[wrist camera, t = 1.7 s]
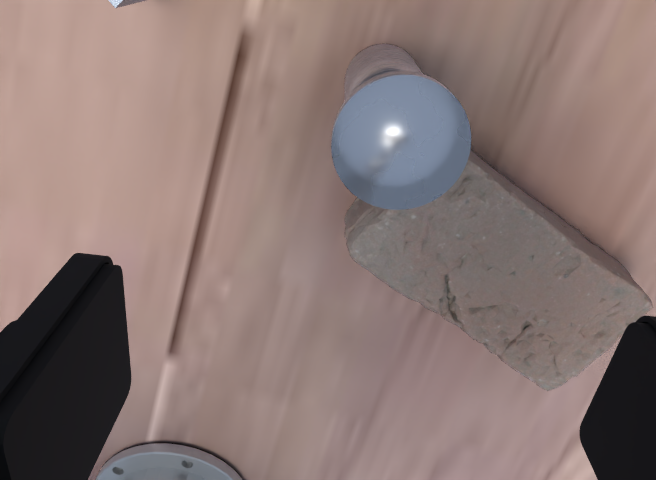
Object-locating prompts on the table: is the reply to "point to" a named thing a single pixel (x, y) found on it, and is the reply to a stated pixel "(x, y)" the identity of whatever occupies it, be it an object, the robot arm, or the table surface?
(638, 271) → the table surface
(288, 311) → the table surface
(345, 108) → the hinge pin
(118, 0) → the grey cross-shaped holder
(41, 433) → the robot arm
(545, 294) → the brick
